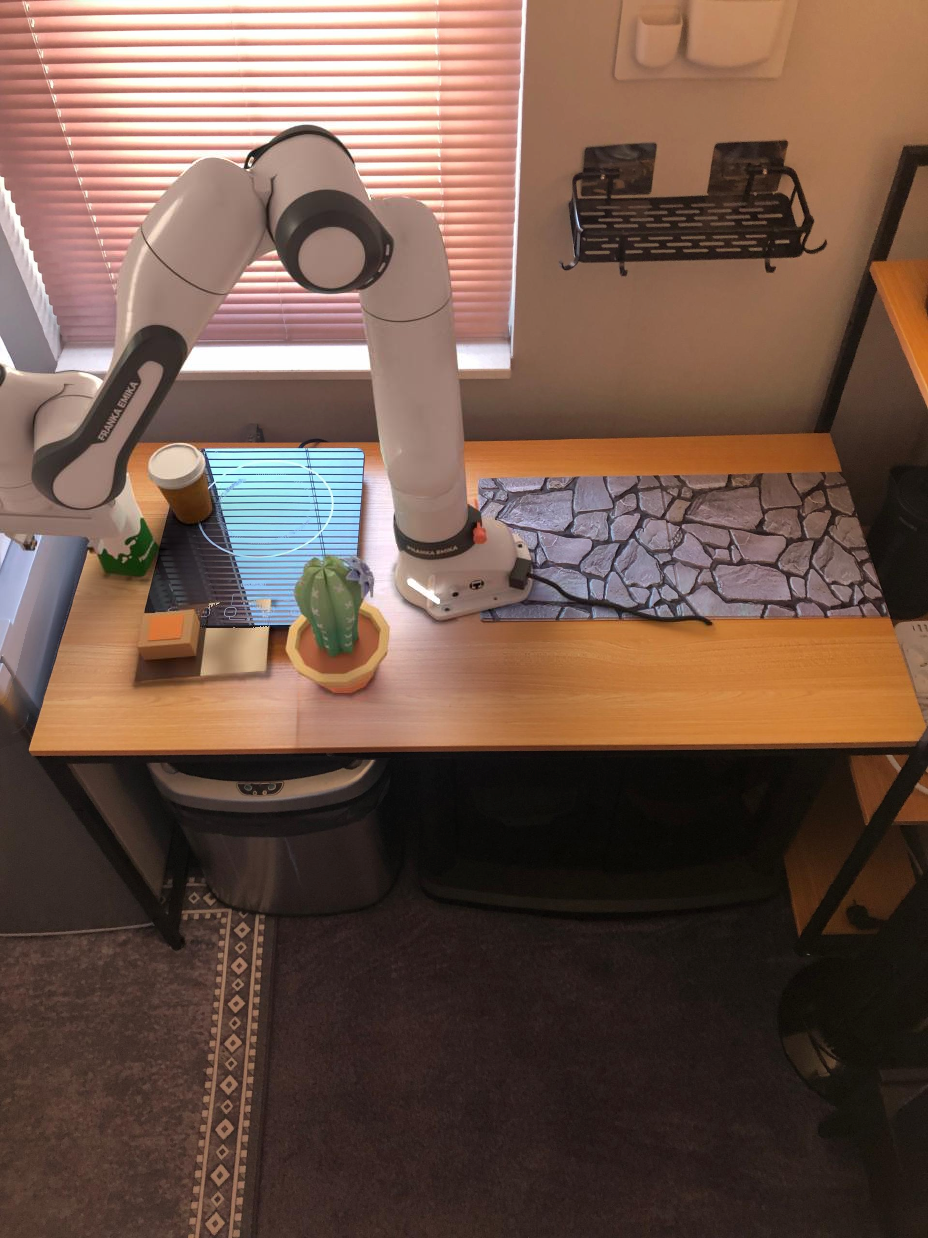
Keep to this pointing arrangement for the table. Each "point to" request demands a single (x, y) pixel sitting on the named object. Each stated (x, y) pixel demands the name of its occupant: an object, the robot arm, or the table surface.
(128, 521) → the milk carton
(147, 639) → the coffee packet
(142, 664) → the board
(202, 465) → the disposable coffee cup
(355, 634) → the potted cactus
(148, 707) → the table surface
